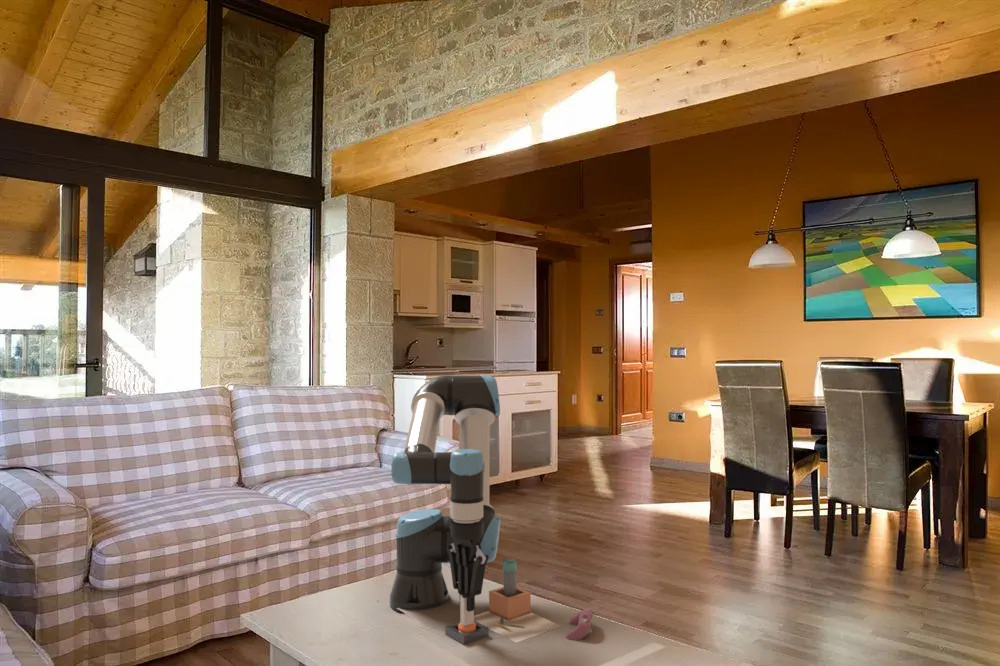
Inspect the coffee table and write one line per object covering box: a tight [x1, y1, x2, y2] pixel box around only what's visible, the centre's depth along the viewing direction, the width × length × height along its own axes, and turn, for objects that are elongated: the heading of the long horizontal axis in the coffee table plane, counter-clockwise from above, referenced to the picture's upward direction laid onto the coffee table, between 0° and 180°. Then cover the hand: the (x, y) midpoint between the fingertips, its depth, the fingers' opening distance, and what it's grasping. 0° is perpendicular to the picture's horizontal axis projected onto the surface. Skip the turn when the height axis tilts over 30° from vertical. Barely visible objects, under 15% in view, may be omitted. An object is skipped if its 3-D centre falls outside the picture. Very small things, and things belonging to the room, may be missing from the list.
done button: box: [458, 622, 476, 633], centre depth 159 cm, size 4×4×2 cm
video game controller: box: [565, 607, 594, 641], centre depth 161 cm, size 10×5×7 cm, turn 169°
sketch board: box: [474, 610, 562, 644], centre depth 166 cm, size 20×16×1 cm
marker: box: [502, 558, 518, 597], centre depth 172 cm, size 3×3×12 cm
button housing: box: [445, 621, 490, 646], centre depth 159 cm, size 7×7×3 cm
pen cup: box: [488, 586, 532, 621], centre depth 172 cm, size 7×7×5 cm
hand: (467, 623), depth 159 cm, fingers closed
